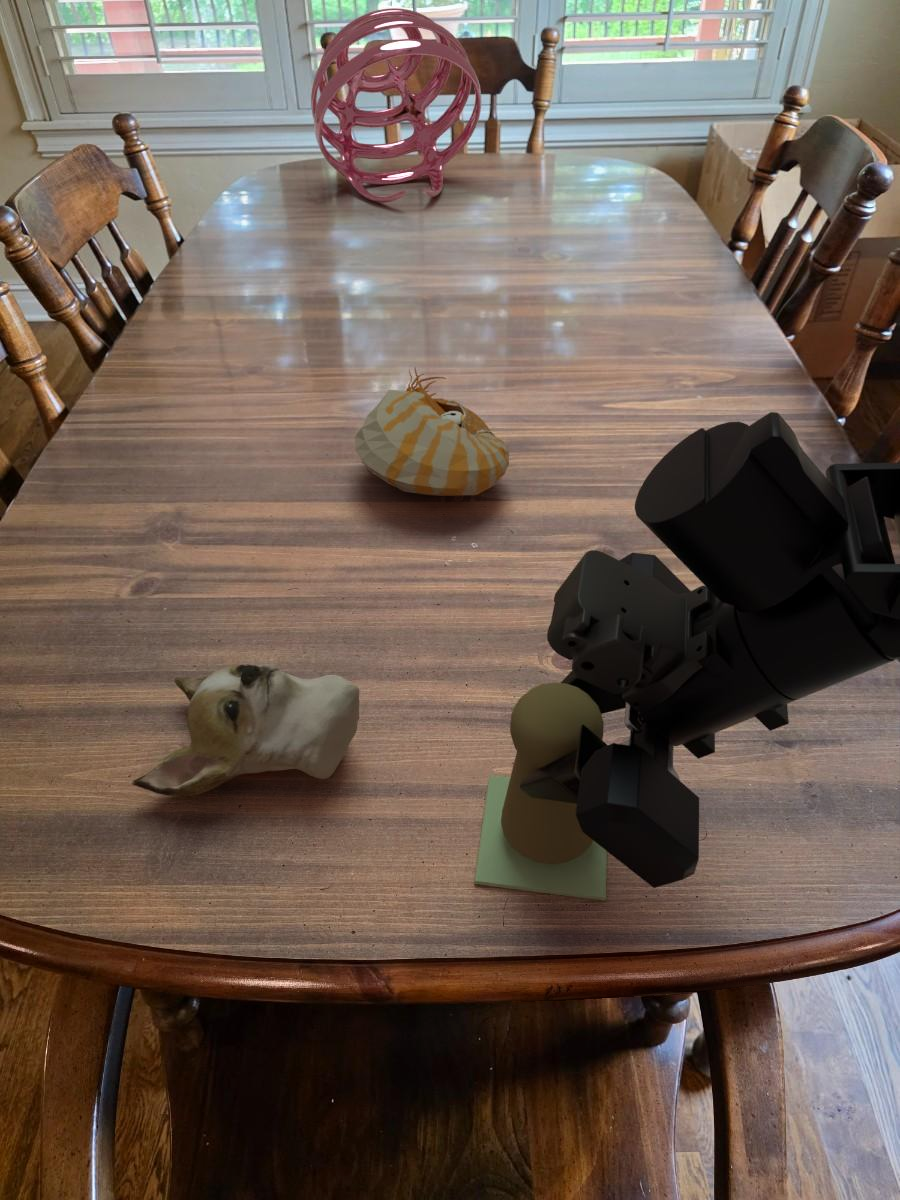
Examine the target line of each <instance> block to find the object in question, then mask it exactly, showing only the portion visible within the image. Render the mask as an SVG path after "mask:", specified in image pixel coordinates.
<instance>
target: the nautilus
mask: <svg viewBox="0 0 900 1200" xmlns="http://www.w3.org/2000/svg"><path fill="white" fill-rule="evenodd" d="M416 368H417V367H416V366H414V375H415V378H414V379H413V375H412V374H411V369H408V373H409V377H410V382H409V383H408V384H407V388H406V390H398V389H397V390H396V389H388V390H387V392H386V393H385V394H384V396H383V397H382V398H381V399H380V401H379V402H378V404H377V405H376V406H375V407H374V408H373V409H372V410H371V411H369V413H368V414H367V415H366V416H365V419H364V421H363V424H362V426H361V427H360V429H359V430H358V432H357V433H356V434H355V436H354V450H355V452H356V454H357V456H358V457H359V459H360V461H361V462H362V464H364V465H365V466H366V467H367V470H369V471H370V472H371V473H372V474H374V475H375V476H376V477H378V478H380V479H381V480H382V481H384V482H385V483H386V484H389V485H391V486H393V487H394V488H397V489H399V490H401V491H402V492H404V493H412V494H420V495H426V496H427V495H428V496H437V497H438V496H440V497H441V496H442V497H443V496H444V497H446V496H448V497H449V496H451V497H454V496H477V495H479V494H482V493H483V492H485V491H487V490H488V489H490V488H491V487H493V486H494V485H496V484H497V483H498V482H499V481H500V479H501V478H502V477H503V476H504V475H505V474H506V472H507V469H508V468H509V465H510V450H509V448H508V446H507V444H506V443H505V442H504V440H502V439H500V438H499V437H497V436H496V435H495V434H494V433H493V431H491V430H490V428H489V426H488V425H487V424H486V422H485V421H484V420H483V419H482V418H481V417H479V415H477V413H476V412H474V411H472V410H470V409H469V408H466V407H465V406H463V405H462V404H460V403H458V402H457V401H455V400H448V399H445V398H442V397H438V398H437V397H436V398H435V397H434V398H432V397H433V396H435V395H436V394H437V392H434V393H431V394H429V393H428V392H429V390H427V388H428V387H429V386H430V385H432V384H434V383H436V382H437V381H436V379H444V380H446V379H447V378H446V377H443V376H430V377H426V378H422V379H419V378H420V377H422V376H424V375H425V373H421V374H419V375H418V372H417V369H416ZM434 379H435V380H434ZM429 380H430V381H431V380H433V381H431V382H429V383H427V384H426V385H425V386H424V387H423V385H422V382H426V381H429ZM418 386H419V387H418Z"/></svg>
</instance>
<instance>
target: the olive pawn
mask: <svg viewBox="0 0 900 1200" xmlns="http://www.w3.org/2000/svg"><path fill="white" fill-rule="evenodd" d="M604 723H605V722H604V719H603V714H601V712H600V710H599V707H598V705H597V704H596V703H595V702H594V701H593V700H592V698H591V697H590V696H589V695H588V694H587V693H586V692H584V691H582V690H581V689H579V688H578V687H575V686H572V685H569V684H566V683H561V682H547V683H542V684H539V685H537V686H534V687H532V688H531V689H529V690H528V691H527V692H525V693H524V694H523V695H522V696H521V697H519V699H518V700H517V702H516V704H515V706H514V707H513V710H512V712H511V715H510V724H509V733H510V736H511V739H512V744H513V746H514V748H515V750H516V754H515V757H514V761H513V764H512V769H511V774H510V781H509V785H508V789H507V793H506V797H505V801H504V805H503V809H502V817H501V825H502V829H503V833H504V836H505V838H506V839H507V841H508V842H509V844H510V845H511V847H512V848H514V849H515V850H516V851H517V852H518V853H520V854H521V855H522V856H524V857H526V858H528V859H531V860H533V861H536V862H539V863H547V864H558V863H564V862H569V861H571V860H573V859H575V858H577V857H579V856H581V855H582V854H583V853H584V852H585V851H586V850H587V849H588V848H589V847H590V846H591V844H592V842H593V840H592V839H591V838H590V837H588V836H587V835H586V834H585V833H583V832H582V829H581V827H580V824H579V822H578V819H577V817H576V808H577V804H574V803H567V802H561V801H554V800H547V799H540V798H533V797H530V796H528V795H527V794H526V793H525V792H523V791H522V790H521V789H520V788H519V786H520V782H521V781H522V780H523V779H525V778H526V777H528V776H529V775H531V774H532V773H534V772H535V771H537V770H539V769H541V768H542V767H544V766H546V765H548V764H550V763H552V762H554V761H556V760H557V759H559V758H561V757H563V756H565V755H567V754H569V753H571V752H573V751H574V750H576V749H577V748H578V741H579V733H580V727H581V725H583V724H584V725H585V726H586V727H587V728H588V729H589V730H591V731H592V732H593V733H594V734H595V735H596V736H598V737H599V738H600V739H601V740H602V741H603V738H604V726H605V725H604Z"/></svg>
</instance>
